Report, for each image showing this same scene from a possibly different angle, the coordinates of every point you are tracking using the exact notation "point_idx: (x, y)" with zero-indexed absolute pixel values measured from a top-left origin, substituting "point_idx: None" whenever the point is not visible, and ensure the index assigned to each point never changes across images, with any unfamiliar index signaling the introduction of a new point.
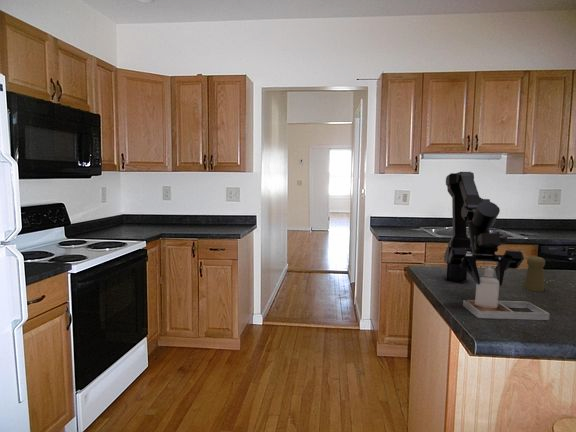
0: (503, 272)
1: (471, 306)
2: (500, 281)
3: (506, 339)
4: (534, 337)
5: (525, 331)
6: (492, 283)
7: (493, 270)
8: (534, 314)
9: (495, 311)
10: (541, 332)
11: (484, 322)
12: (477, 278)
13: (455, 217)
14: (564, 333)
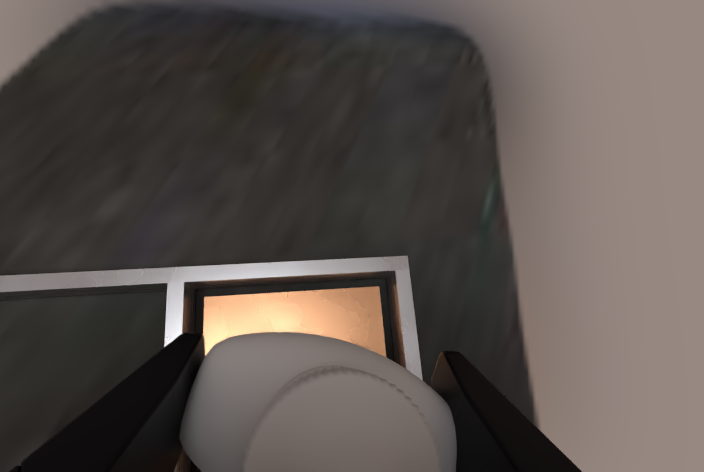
0: (28, 467)
1: (419, 362)
2: (190, 348)
3: (359, 35)
4: (222, 55)
5: (224, 113)
6: (303, 334)
7: (274, 402)
8: (29, 275)
9: (297, 271)
10: (146, 107)
11: (383, 207)
12: (489, 382)
13: None
14: (22, 101)
